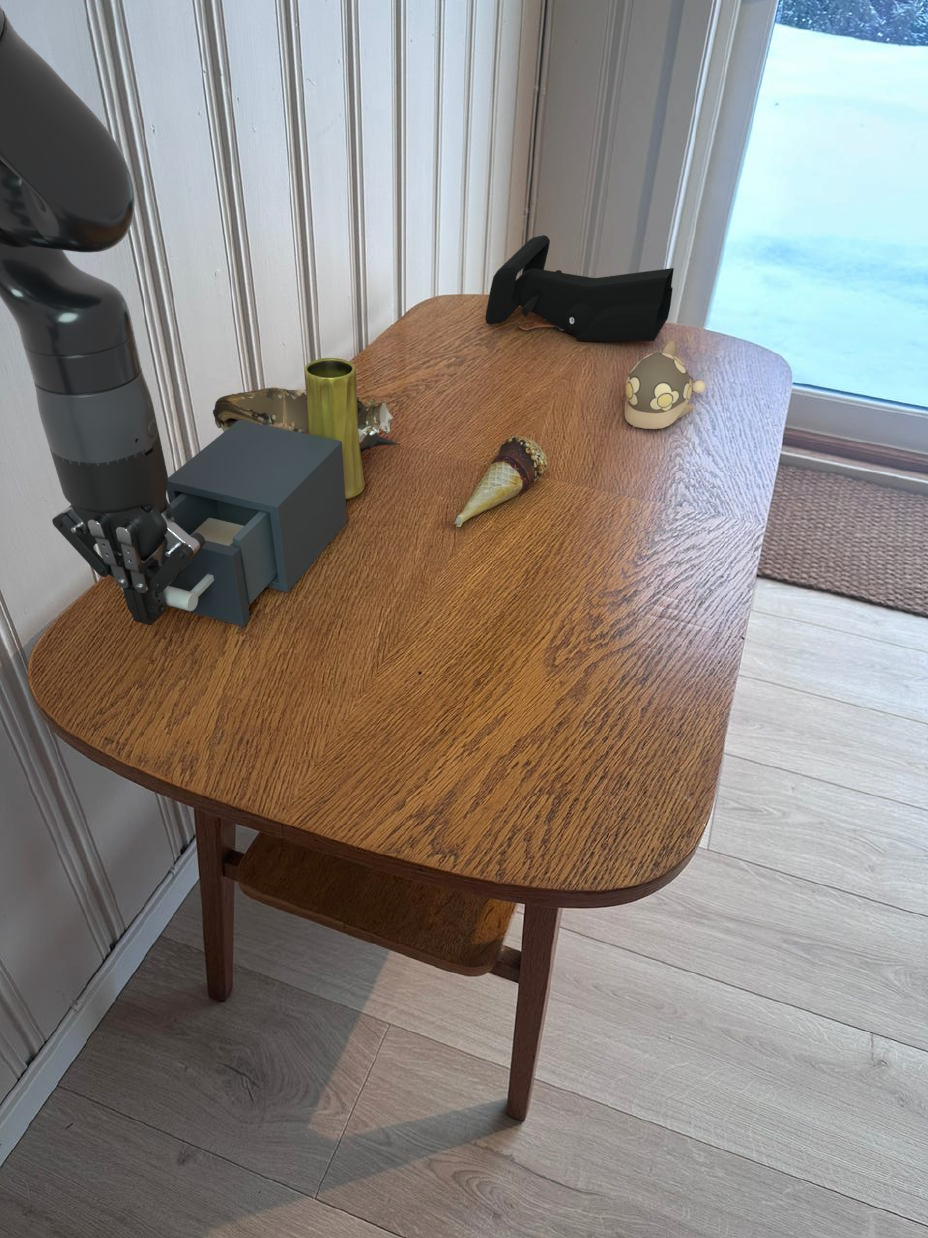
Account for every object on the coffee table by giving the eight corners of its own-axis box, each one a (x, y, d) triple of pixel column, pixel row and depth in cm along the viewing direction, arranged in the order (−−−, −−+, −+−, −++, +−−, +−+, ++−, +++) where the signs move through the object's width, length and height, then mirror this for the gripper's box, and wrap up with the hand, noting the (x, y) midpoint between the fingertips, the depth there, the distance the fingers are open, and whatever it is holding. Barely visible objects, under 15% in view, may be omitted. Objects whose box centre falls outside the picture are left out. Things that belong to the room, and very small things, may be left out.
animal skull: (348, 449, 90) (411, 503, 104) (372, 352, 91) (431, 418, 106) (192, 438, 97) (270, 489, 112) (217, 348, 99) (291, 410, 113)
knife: (602, 331, 140) (597, 323, 142) (603, 328, 139) (598, 319, 142) (521, 332, 137) (517, 323, 140) (522, 328, 137) (517, 320, 139)
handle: (664, 351, 126) (647, 245, 118) (495, 371, 140) (468, 276, 131) (691, 305, 138) (677, 205, 129) (532, 327, 151) (510, 238, 143)
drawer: (217, 657, 76) (203, 585, 71) (113, 628, 79) (93, 556, 74) (306, 554, 88) (299, 486, 83) (213, 532, 91) (202, 464, 86)
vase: (357, 504, 97) (351, 382, 88) (303, 498, 98) (292, 377, 89) (370, 476, 102) (365, 358, 93) (318, 471, 103) (309, 353, 93)
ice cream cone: (431, 493, 94) (511, 418, 101) (437, 533, 98) (514, 458, 105) (478, 513, 91) (557, 435, 98) (482, 553, 95) (558, 475, 103)
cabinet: (287, 593, 85) (277, 506, 79) (182, 565, 88) (164, 480, 82) (347, 522, 95) (342, 440, 89) (250, 500, 98) (238, 419, 91)
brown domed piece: (637, 413, 127) (606, 425, 114) (648, 333, 123) (617, 336, 110) (708, 422, 123) (684, 435, 110) (721, 340, 119) (698, 344, 106)
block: (230, 587, 82) (224, 550, 79) (191, 577, 83) (184, 540, 80) (253, 562, 85) (248, 526, 82) (215, 553, 86) (209, 517, 83)
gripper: (-10, 438, 62) (55, 625, 73) (150, 475, 59) (193, 665, 70) (61, 395, 68) (111, 575, 79) (211, 426, 64) (242, 610, 76)
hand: (150, 617), depth 74 cm, fingers closed
